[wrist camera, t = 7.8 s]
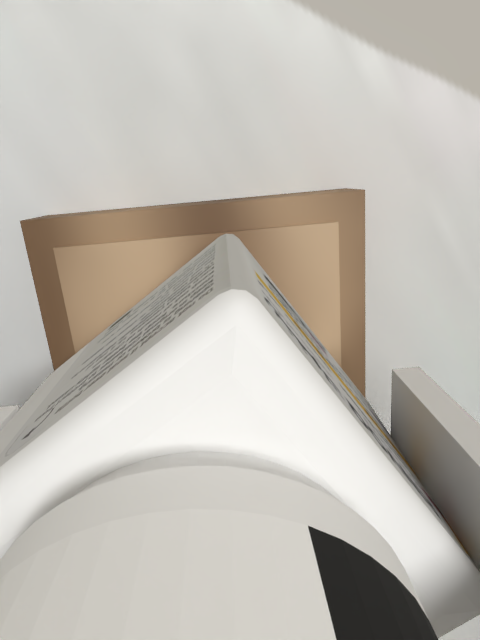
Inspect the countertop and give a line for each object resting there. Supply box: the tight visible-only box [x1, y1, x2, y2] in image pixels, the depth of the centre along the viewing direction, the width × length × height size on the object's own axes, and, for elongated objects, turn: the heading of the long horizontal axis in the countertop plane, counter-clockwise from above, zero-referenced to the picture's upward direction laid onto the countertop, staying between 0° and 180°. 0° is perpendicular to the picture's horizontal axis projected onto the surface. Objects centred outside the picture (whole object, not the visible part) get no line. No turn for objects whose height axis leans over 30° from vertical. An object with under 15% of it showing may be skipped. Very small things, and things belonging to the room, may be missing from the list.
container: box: [0, 234, 480, 640], centre depth 9 cm, size 8×8×13 cm
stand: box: [20, 189, 365, 397], centre depth 18 cm, size 12×12×3 cm
